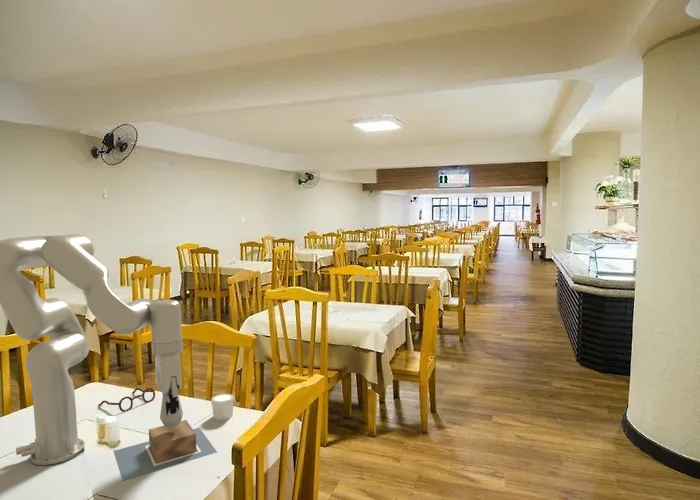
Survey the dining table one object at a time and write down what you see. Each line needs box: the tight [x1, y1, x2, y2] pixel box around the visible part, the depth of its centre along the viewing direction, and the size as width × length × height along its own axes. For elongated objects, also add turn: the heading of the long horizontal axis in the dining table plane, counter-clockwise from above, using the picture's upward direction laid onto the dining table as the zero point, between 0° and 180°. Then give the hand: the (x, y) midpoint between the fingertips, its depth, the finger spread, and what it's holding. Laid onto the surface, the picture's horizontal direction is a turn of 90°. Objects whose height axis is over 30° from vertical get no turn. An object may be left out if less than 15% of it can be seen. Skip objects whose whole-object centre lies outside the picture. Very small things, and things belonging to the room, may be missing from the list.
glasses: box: [98, 387, 156, 413], centre depth 159 cm, size 13×13×5 cm
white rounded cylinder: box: [210, 393, 234, 421], centre depth 145 cm, size 7×7×7 cm
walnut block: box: [148, 419, 197, 463], centre depth 126 cm, size 10×10×5 cm
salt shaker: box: [159, 384, 184, 427], centre depth 125 cm, size 6×6×13 cm
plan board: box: [113, 427, 218, 482], centre depth 125 cm, size 23×17×1 cm
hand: (171, 412), depth 125 cm, fingers closed on salt shaker, 3 cm apart
